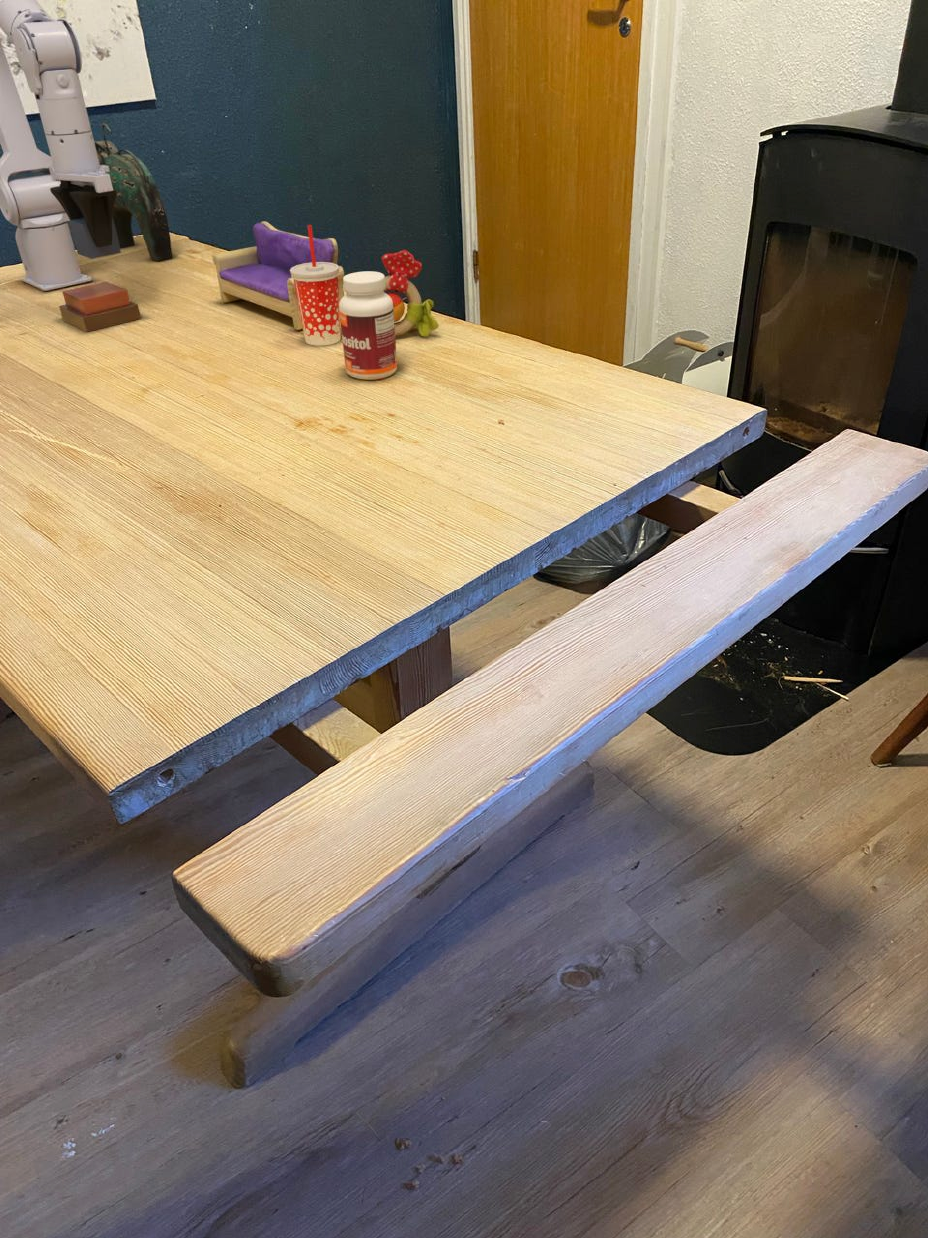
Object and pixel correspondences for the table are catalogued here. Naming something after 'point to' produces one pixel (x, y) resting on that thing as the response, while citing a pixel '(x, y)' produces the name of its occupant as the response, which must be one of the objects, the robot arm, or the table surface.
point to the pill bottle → (367, 326)
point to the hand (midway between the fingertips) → (96, 242)
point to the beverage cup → (318, 299)
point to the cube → (86, 242)
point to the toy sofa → (271, 269)
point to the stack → (98, 306)
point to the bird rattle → (407, 294)
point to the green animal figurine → (135, 200)
